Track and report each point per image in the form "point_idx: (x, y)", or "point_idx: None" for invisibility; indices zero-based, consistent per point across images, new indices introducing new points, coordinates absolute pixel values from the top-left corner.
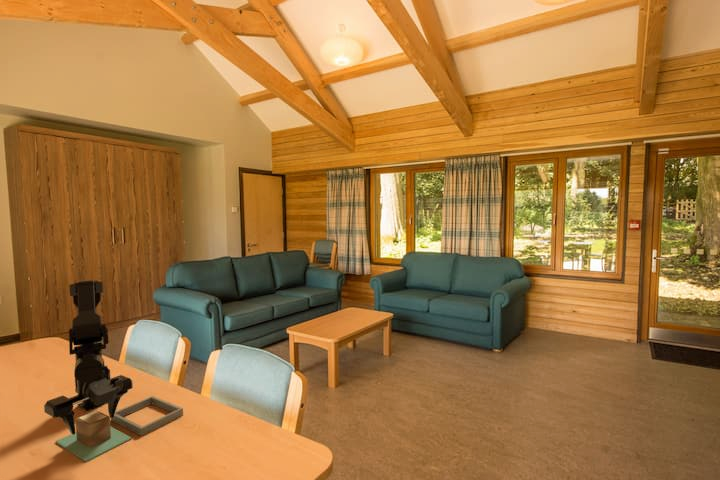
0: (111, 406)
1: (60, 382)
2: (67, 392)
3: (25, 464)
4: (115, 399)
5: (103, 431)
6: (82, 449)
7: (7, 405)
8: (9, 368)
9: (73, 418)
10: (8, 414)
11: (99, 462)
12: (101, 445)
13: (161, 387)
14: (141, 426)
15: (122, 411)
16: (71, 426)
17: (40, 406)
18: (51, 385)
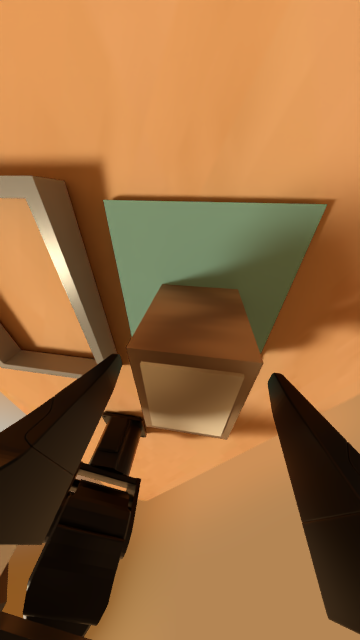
0: (84, 408)
1: (137, 467)
2: (140, 455)
3: (342, 374)
4: (13, 456)
5: (181, 307)
6: (252, 306)
7: (199, 474)
8: (159, 492)
9: (354, 492)
10: (211, 467)
11: (305, 124)
12: (207, 267)
13: (3, 382)
14: (30, 205)
15: (86, 371)
16: (322, 422)
17: (179, 457)
18: (147, 469)
